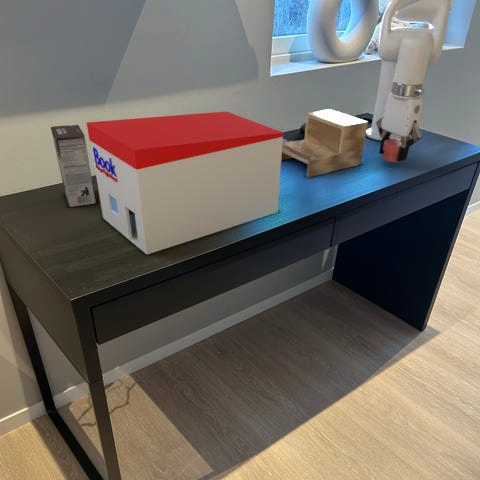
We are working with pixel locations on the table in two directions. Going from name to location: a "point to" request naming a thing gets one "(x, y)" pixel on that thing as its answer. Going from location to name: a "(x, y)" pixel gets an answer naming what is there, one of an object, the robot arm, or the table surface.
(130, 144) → the bookstore
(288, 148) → the wooden step block
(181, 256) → the table surface
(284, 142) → the soldier figure
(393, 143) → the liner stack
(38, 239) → the table surface
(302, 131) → the fossilized seashell
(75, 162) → the coffee box
